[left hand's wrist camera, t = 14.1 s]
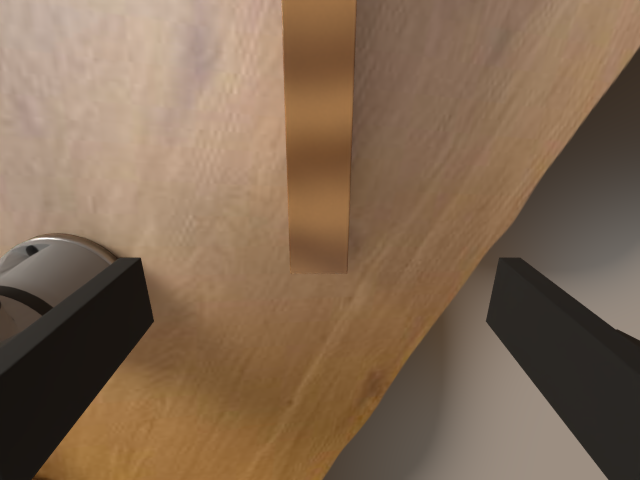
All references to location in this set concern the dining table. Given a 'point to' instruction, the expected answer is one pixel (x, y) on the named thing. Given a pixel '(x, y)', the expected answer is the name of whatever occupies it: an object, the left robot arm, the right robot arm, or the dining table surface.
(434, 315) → the dining table surface
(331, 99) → the bar
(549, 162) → the dining table surface
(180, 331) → the dining table surface
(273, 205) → the dining table surface
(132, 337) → the left robot arm
